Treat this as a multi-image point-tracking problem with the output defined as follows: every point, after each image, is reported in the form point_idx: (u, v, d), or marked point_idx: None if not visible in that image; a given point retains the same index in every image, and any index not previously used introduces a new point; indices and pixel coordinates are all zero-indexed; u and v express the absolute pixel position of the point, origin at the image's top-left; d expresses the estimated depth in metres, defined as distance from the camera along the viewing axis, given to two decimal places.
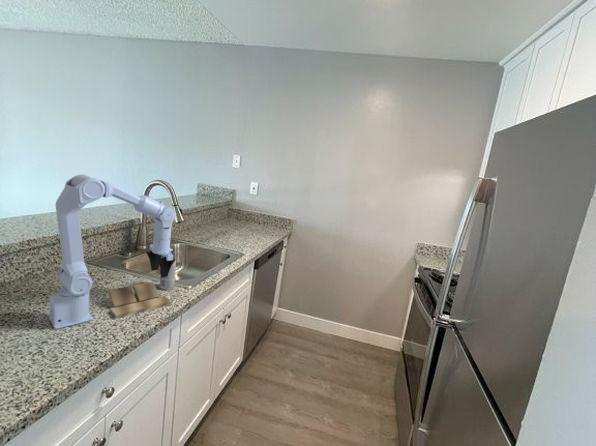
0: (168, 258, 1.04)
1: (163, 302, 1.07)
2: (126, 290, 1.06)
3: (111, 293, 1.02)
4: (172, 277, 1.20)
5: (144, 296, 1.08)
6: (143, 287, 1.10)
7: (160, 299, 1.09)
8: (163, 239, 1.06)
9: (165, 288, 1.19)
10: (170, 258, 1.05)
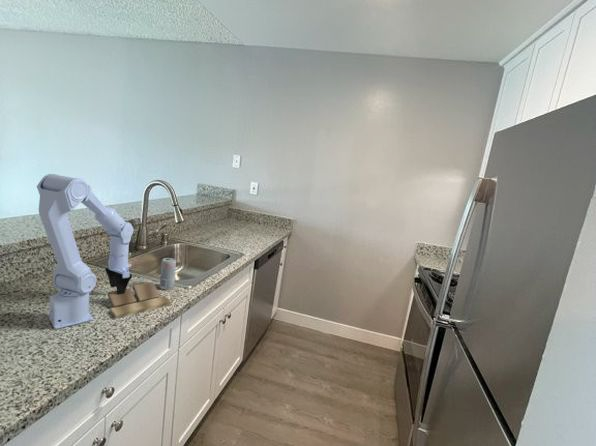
0: (124, 275, 1.01)
1: (163, 302, 1.07)
2: (125, 292, 1.07)
3: (110, 295, 1.03)
4: (172, 277, 1.20)
5: (144, 296, 1.08)
6: (143, 287, 1.10)
7: (160, 299, 1.09)
8: (123, 255, 1.04)
9: (165, 288, 1.19)
10: (127, 276, 1.02)
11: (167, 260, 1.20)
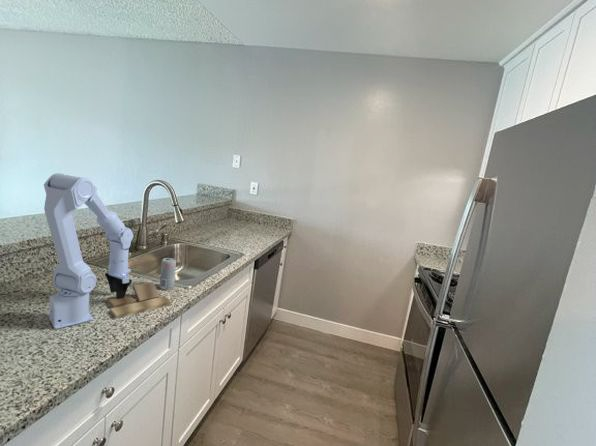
0: (124, 281, 1.01)
1: (163, 302, 1.07)
2: None
3: (109, 299, 1.04)
4: (172, 277, 1.20)
5: (144, 296, 1.08)
6: (143, 287, 1.10)
7: (160, 299, 1.09)
8: (123, 260, 1.04)
9: (165, 288, 1.19)
10: (126, 281, 1.02)
11: (167, 260, 1.20)
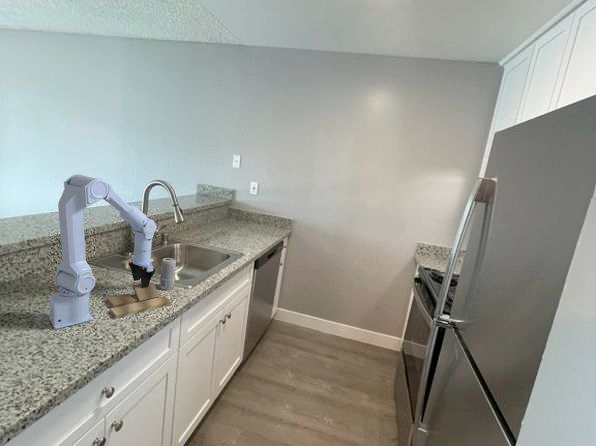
0: (148, 269, 1.07)
1: (163, 302, 1.07)
2: (124, 296, 1.07)
3: (109, 299, 1.04)
4: (172, 277, 1.20)
5: (144, 296, 1.08)
6: None
7: (160, 299, 1.09)
8: (146, 250, 1.09)
9: (165, 288, 1.19)
10: (151, 270, 1.08)
11: (167, 260, 1.20)
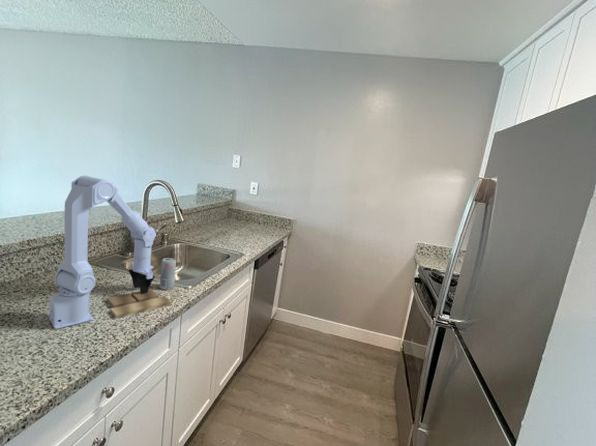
0: (148, 277, 1.07)
1: (163, 302, 1.07)
2: (124, 296, 1.07)
3: (109, 299, 1.04)
4: (172, 277, 1.20)
5: (143, 297, 1.09)
6: None
7: (160, 299, 1.09)
8: (145, 258, 1.10)
9: (165, 288, 1.19)
10: (150, 277, 1.08)
11: (167, 260, 1.20)
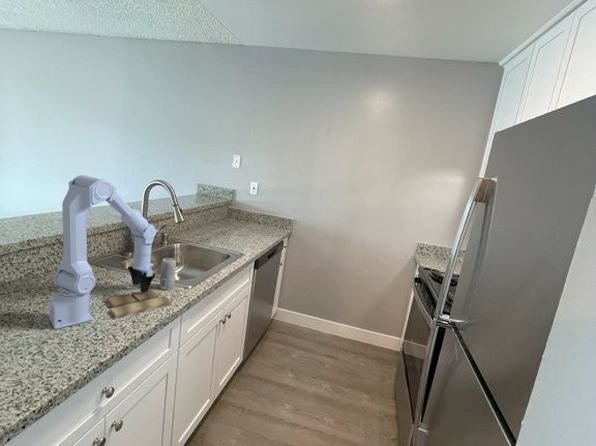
0: (148, 274, 1.07)
1: (163, 302, 1.07)
2: (124, 296, 1.07)
3: (109, 299, 1.04)
4: (172, 277, 1.20)
5: (143, 297, 1.09)
6: (141, 292, 1.12)
7: (160, 299, 1.09)
8: (145, 255, 1.09)
9: (165, 288, 1.19)
10: (150, 274, 1.08)
11: (167, 260, 1.20)
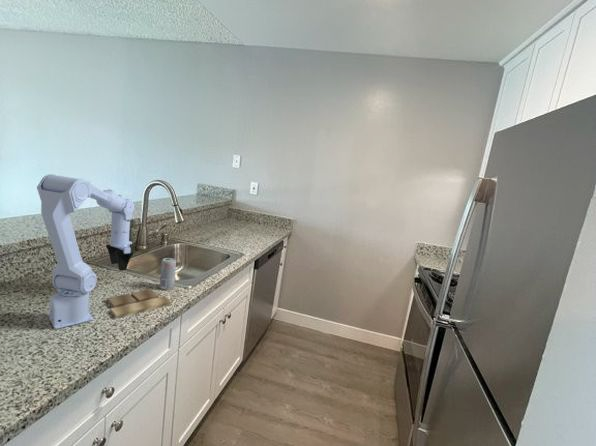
0: (125, 251, 1.03)
1: (163, 302, 1.07)
2: (124, 296, 1.07)
3: (109, 299, 1.04)
4: (172, 277, 1.20)
5: (143, 297, 1.09)
6: (141, 292, 1.12)
7: (160, 299, 1.09)
8: (126, 232, 1.06)
9: (165, 288, 1.19)
10: (128, 251, 1.04)
11: (167, 260, 1.20)
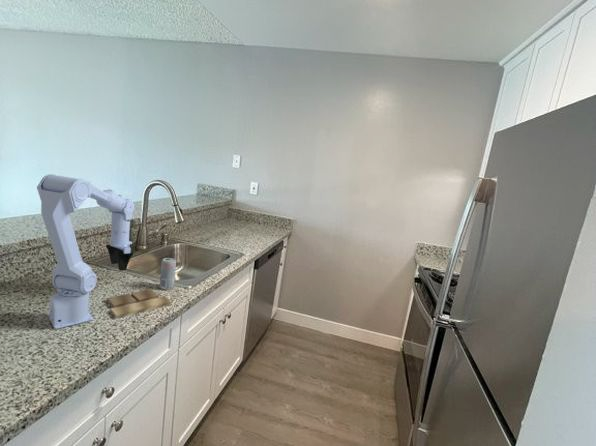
0: (125, 251, 1.03)
1: (163, 302, 1.07)
2: (124, 296, 1.07)
3: (109, 299, 1.04)
4: (172, 277, 1.20)
5: (143, 297, 1.09)
6: (141, 292, 1.12)
7: (160, 299, 1.09)
8: (126, 232, 1.06)
9: (165, 288, 1.19)
10: (128, 251, 1.04)
11: (167, 260, 1.20)
